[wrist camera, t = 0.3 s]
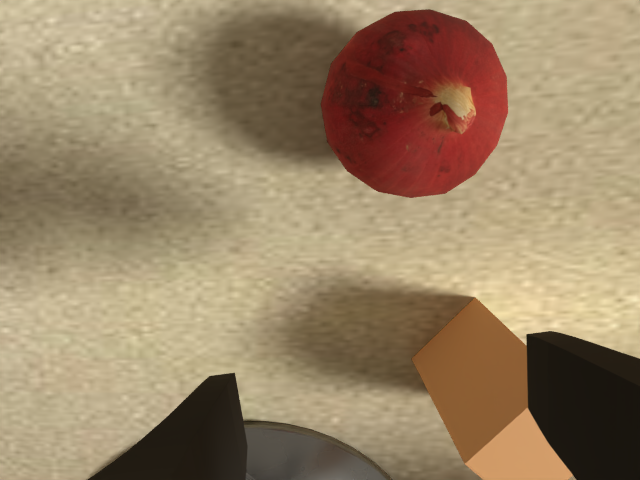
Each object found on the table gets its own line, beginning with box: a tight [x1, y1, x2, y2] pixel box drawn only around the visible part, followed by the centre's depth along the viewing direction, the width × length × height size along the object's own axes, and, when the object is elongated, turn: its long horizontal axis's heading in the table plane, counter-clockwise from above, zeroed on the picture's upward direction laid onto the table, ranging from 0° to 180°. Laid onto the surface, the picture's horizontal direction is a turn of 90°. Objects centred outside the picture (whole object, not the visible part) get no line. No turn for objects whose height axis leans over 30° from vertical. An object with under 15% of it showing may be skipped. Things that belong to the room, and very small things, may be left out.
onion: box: [321, 9, 508, 198], centre depth 15 cm, size 6×6×8 cm
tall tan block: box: [412, 298, 573, 480], centre depth 19 cm, size 3×4×7 cm
